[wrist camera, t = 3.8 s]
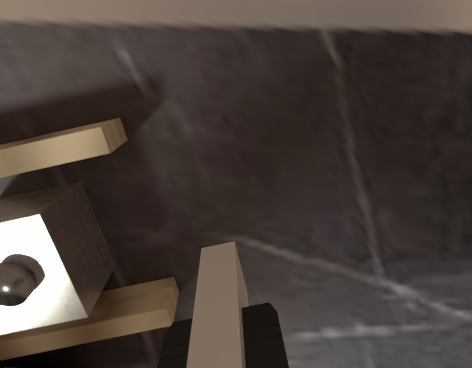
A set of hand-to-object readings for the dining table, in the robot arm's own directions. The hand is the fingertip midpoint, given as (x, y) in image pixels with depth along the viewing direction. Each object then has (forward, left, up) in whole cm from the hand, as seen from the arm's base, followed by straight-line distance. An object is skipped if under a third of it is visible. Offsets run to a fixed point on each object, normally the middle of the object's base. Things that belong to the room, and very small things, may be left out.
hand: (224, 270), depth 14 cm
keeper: (-12, 0, -9) cm, 15 cm away
